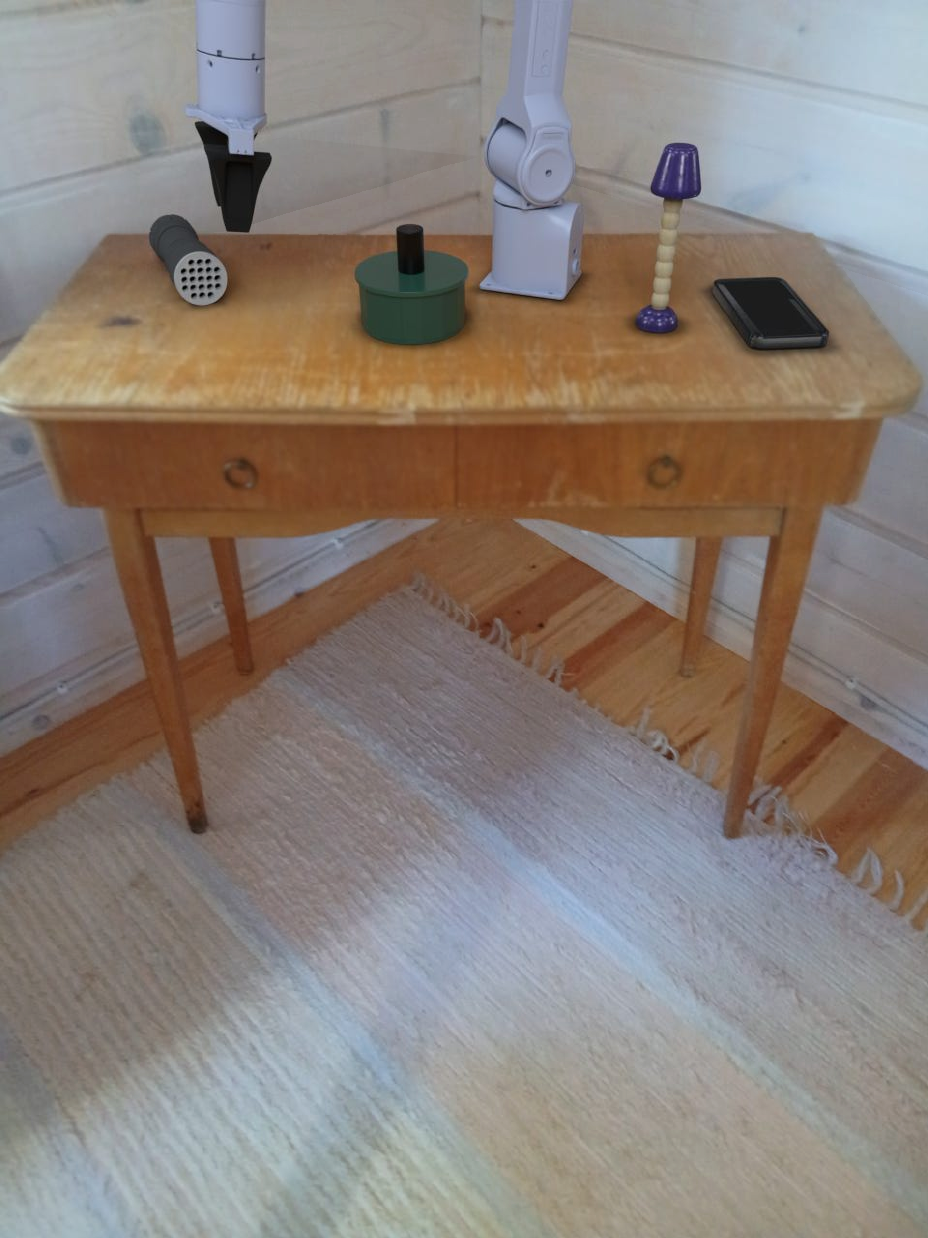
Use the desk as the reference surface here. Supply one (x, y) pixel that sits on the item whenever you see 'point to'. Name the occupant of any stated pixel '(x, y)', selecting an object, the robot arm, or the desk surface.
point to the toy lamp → (669, 228)
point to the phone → (769, 313)
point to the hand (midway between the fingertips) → (232, 218)
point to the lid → (411, 268)
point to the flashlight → (188, 260)
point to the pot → (413, 316)
